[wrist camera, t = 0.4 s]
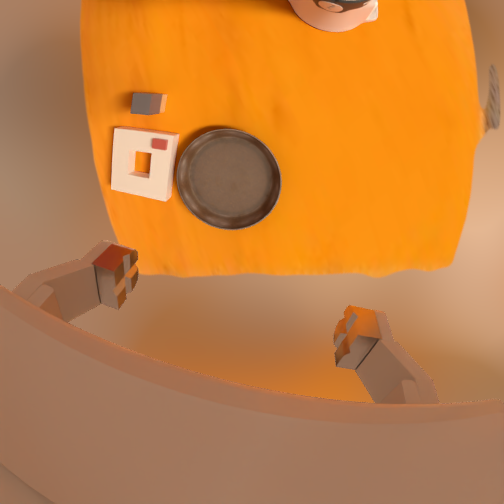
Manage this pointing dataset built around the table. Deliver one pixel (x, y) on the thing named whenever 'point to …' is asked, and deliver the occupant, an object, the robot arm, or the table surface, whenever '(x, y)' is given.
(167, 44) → the table surface
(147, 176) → the socket plate
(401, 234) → the table surface
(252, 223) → the plant saucer
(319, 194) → the table surface
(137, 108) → the plug
